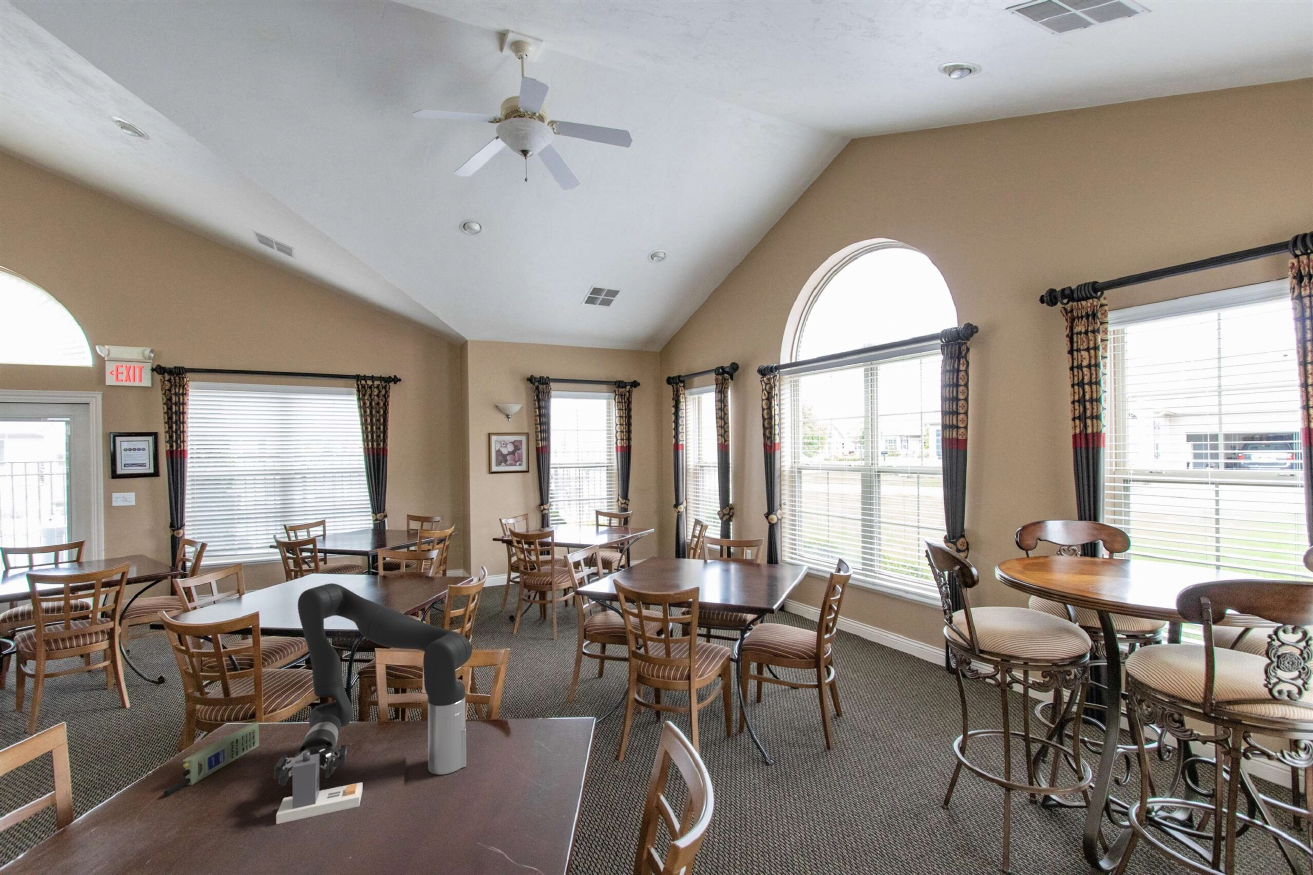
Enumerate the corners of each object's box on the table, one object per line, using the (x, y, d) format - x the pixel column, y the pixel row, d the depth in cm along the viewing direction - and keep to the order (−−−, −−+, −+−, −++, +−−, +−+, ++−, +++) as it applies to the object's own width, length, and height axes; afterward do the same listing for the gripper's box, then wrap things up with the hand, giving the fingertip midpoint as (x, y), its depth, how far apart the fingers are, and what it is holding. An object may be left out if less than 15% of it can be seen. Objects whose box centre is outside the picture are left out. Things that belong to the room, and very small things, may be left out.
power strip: (390, 791, 136) (390, 773, 136) (388, 806, 130) (388, 787, 130) (283, 813, 128) (283, 794, 128) (276, 831, 122) (276, 810, 122)
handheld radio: (261, 746, 159) (171, 799, 134) (251, 746, 159) (159, 799, 135) (260, 722, 159) (170, 771, 135) (250, 722, 160) (159, 770, 135)
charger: (319, 801, 129) (319, 746, 130) (315, 812, 125) (315, 755, 126) (296, 806, 128) (297, 750, 128) (292, 817, 124) (292, 759, 124)
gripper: (286, 734, 139) (267, 767, 124) (351, 723, 144) (341, 754, 129) (286, 764, 139) (267, 802, 123) (351, 752, 144) (341, 787, 129)
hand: (305, 777), depth 126 cm, fingers open, 8 cm apart
